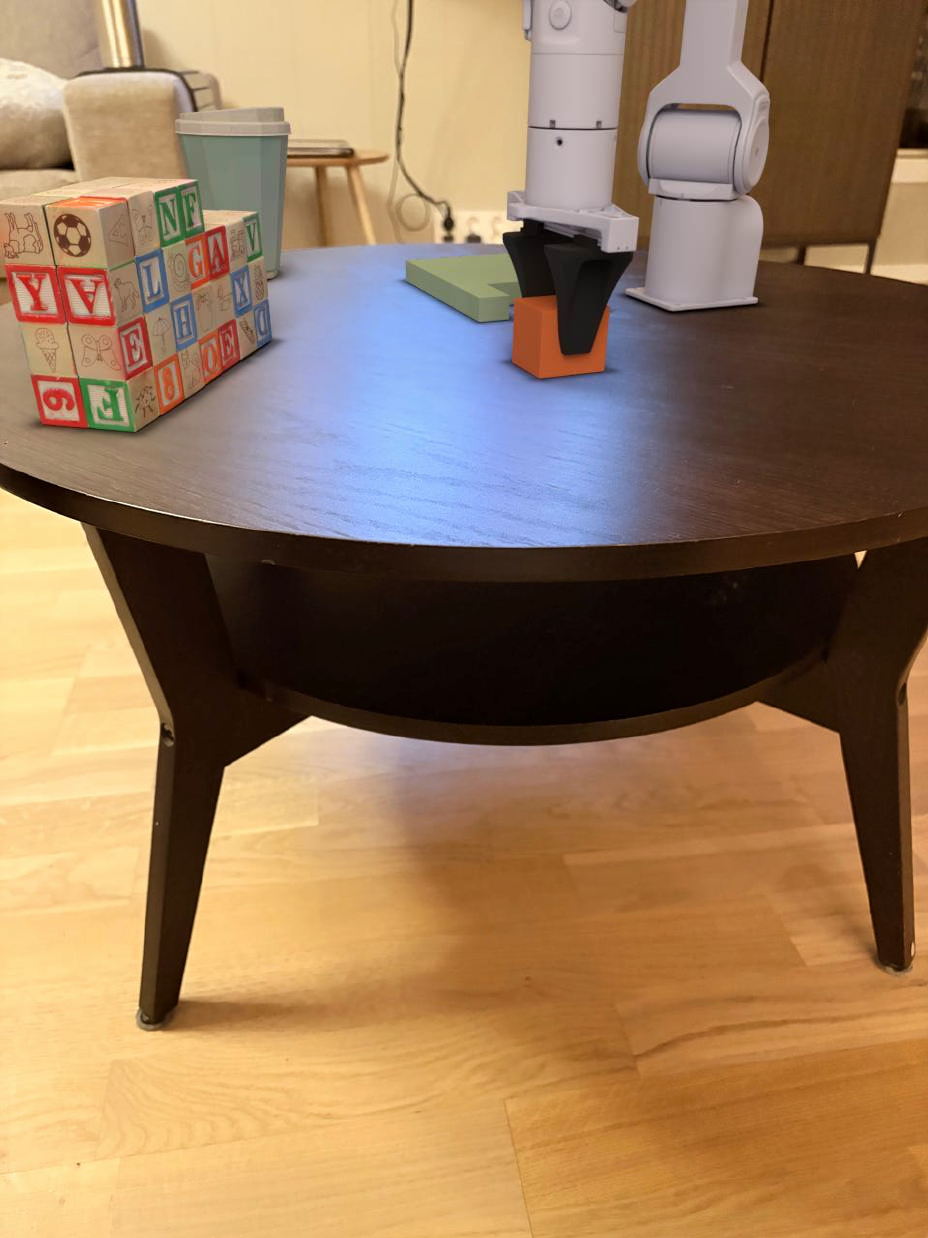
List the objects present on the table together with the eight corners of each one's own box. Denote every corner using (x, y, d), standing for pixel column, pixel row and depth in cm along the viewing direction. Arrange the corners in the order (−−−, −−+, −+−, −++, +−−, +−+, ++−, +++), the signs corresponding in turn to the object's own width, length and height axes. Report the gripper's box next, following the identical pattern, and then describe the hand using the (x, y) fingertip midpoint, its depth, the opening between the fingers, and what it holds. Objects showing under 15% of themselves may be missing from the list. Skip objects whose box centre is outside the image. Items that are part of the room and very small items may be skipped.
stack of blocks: (198, 335, 73) (175, 161, 66) (274, 341, 72) (257, 164, 65) (39, 425, 55) (-14, 197, 49) (136, 433, 54) (95, 202, 47)
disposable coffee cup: (171, 280, 91) (145, 105, 83) (231, 262, 99) (213, 101, 92) (266, 290, 88) (249, 108, 80) (320, 269, 96) (309, 104, 88)
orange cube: (574, 355, 69) (579, 292, 67) (604, 371, 66) (610, 305, 63) (511, 362, 67) (514, 298, 65) (539, 378, 64) (542, 311, 62)
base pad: (515, 273, 96) (516, 252, 95) (603, 310, 82) (605, 287, 81) (405, 281, 92) (405, 259, 91) (479, 322, 78) (479, 297, 77)
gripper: (469, 121, 63) (466, 325, 70) (571, 136, 52) (556, 377, 59) (561, 120, 66) (549, 317, 73) (678, 134, 54) (651, 366, 61)
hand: (558, 343), depth 66 cm, fingers closed on orange cube, 4 cm apart
